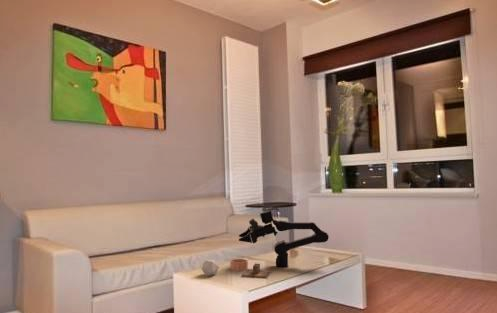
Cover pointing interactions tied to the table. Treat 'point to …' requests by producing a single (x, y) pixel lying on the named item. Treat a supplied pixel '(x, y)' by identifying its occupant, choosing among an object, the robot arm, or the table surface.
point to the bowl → (239, 264)
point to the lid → (256, 272)
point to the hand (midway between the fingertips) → (238, 238)
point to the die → (210, 267)
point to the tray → (261, 278)
